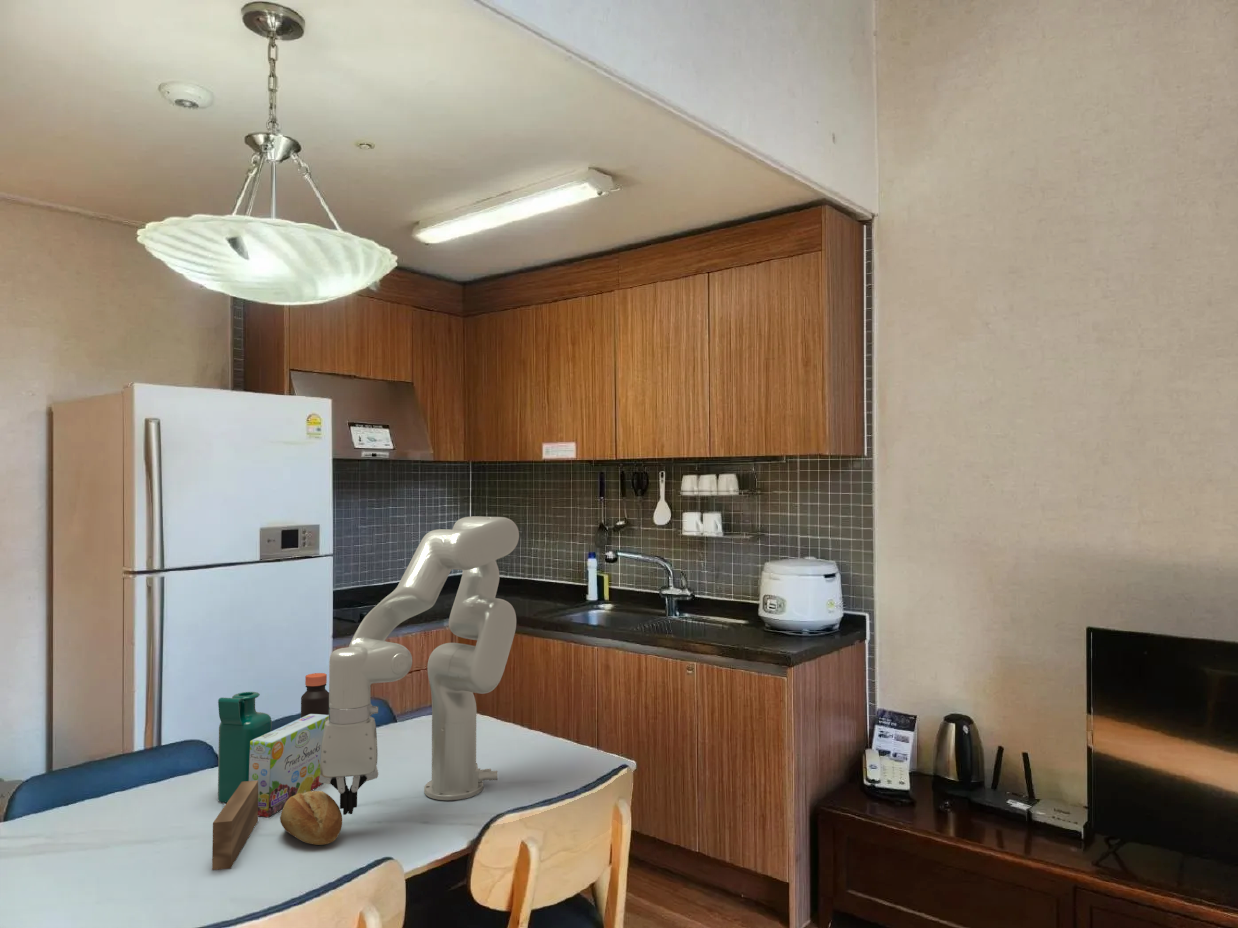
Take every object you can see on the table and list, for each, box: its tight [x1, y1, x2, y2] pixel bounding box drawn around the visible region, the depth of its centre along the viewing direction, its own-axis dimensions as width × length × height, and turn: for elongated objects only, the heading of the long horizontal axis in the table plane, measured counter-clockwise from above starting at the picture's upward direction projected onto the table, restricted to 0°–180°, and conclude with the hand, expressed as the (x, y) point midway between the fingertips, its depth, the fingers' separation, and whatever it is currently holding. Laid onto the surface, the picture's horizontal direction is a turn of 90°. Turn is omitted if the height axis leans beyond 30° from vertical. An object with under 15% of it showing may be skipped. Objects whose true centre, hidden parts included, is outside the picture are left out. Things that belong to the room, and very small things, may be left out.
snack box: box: [249, 714, 329, 818], centre depth 168 cm, size 21×6×15 cm, turn 168°
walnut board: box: [211, 780, 259, 871], centre depth 145 cm, size 3×20×8 cm, turn 13°
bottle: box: [300, 672, 329, 718], centre depth 194 cm, size 7×7×20 cm
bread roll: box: [279, 790, 343, 846], centre depth 148 cm, size 10×15×8 cm, turn 47°
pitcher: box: [217, 691, 273, 803], centre depth 168 cm, size 10×8×22 cm
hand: (348, 811), depth 150 cm, fingers closed
